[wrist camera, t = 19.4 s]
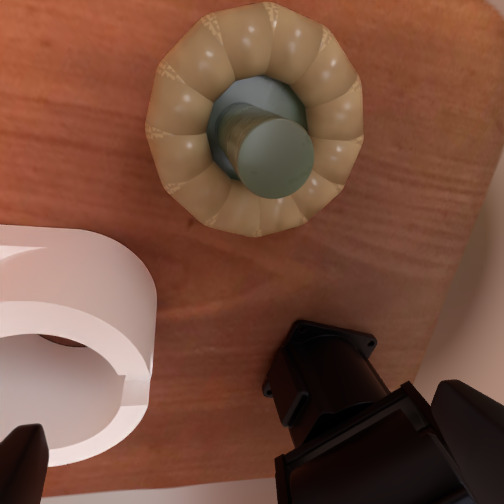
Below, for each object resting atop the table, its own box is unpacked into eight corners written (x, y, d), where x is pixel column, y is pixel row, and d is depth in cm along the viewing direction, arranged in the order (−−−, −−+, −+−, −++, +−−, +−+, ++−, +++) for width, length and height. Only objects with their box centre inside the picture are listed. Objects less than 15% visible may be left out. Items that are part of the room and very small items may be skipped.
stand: (313, 88, 18) (406, 97, 11) (268, 200, 20) (320, 269, 13) (195, 34, 16) (213, 1, 9) (158, 164, 18) (149, 223, 11)
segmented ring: (380, 59, 16) (411, 56, 14) (306, 241, 20) (322, 261, 18) (177, -31, 14) (178, -51, 11) (131, 198, 17) (124, 216, 15)
